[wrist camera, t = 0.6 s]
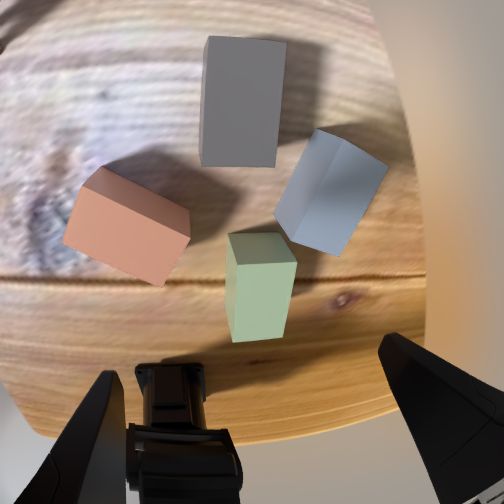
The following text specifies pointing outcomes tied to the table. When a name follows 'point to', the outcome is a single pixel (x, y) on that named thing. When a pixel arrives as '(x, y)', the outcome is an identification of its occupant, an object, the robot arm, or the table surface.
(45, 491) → the robot arm
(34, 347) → the table surface
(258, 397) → the table surface
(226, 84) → the charcoal brick
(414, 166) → the table surface
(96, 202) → the terracotta brick
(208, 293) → the table surface
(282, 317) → the green brick
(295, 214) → the slate blue brick
